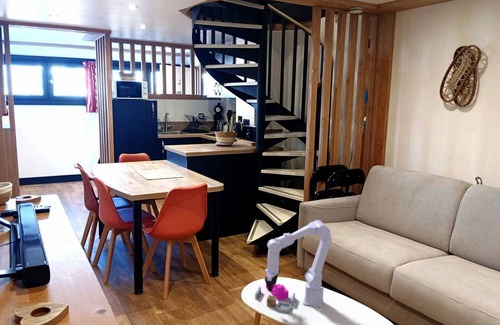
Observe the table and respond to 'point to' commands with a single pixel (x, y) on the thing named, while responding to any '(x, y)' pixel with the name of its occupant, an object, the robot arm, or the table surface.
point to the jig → (281, 306)
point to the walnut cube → (271, 301)
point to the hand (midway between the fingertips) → (271, 287)
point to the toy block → (279, 291)
